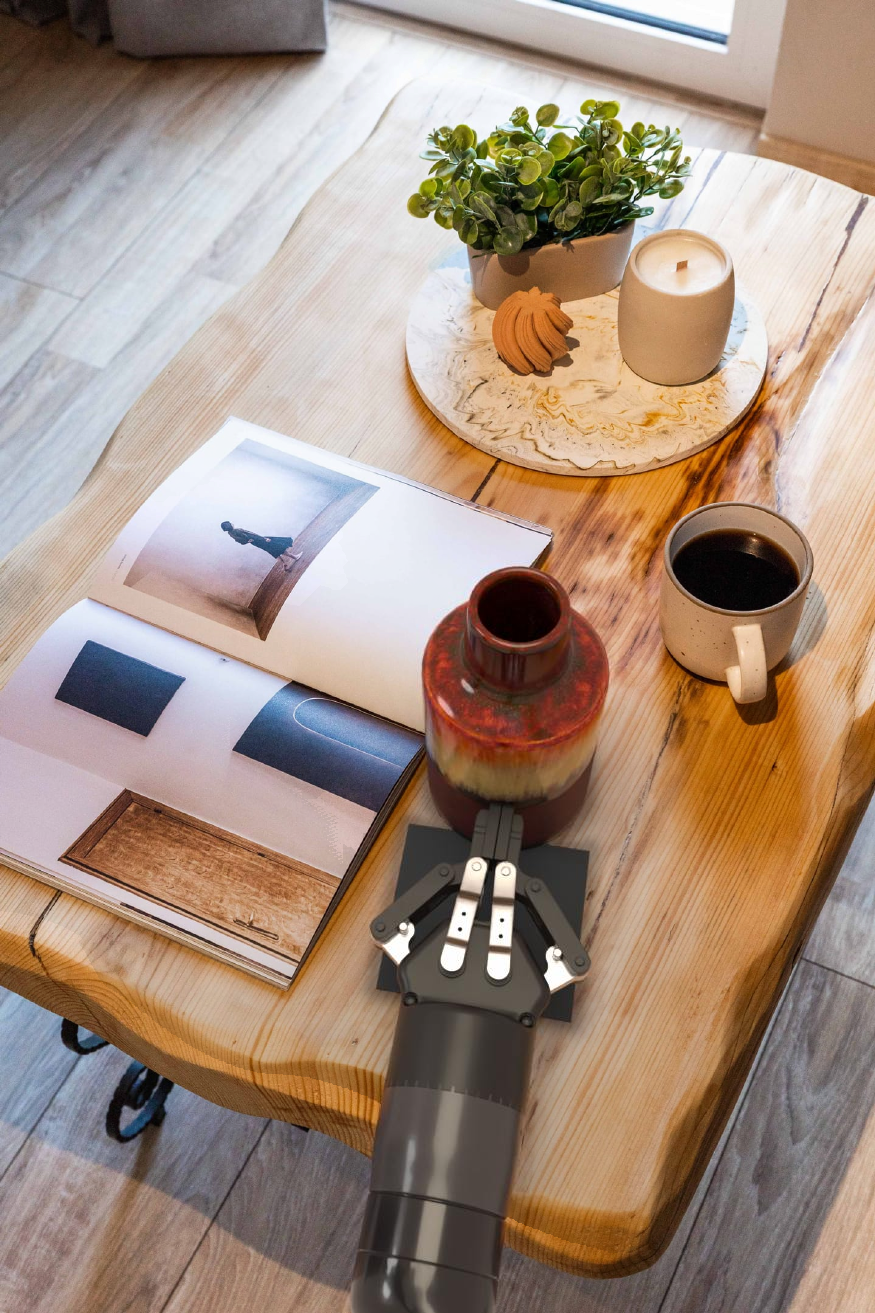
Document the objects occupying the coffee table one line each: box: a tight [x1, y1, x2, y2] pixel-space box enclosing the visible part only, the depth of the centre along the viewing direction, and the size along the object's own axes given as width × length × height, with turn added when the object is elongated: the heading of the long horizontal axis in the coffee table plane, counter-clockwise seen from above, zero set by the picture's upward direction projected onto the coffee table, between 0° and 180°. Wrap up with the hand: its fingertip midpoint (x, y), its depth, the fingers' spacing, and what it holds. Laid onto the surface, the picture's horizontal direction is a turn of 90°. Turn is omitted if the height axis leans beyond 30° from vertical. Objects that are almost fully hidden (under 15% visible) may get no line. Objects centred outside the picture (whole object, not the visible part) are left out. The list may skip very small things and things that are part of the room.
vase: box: [420, 565, 611, 850], centre depth 67 cm, size 11×11×20 cm
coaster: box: [375, 823, 591, 1023], centre depth 70 cm, size 12×11×1 cm
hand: (502, 807), depth 67 cm, fingers closed
